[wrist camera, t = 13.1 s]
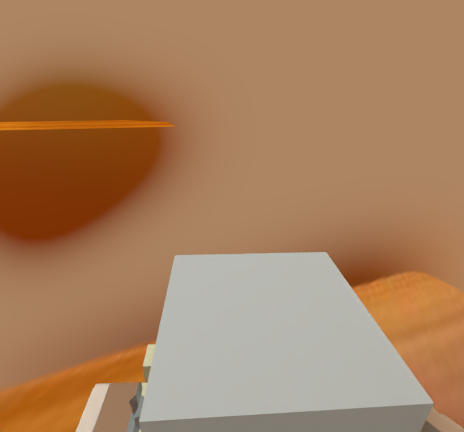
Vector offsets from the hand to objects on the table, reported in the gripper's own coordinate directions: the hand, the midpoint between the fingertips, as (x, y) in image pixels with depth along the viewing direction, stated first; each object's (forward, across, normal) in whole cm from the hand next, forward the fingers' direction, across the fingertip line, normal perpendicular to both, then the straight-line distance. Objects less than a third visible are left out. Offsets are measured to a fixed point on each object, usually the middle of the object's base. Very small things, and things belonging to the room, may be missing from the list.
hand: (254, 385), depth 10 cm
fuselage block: (-1, 0, +10) cm, 10 cm away
